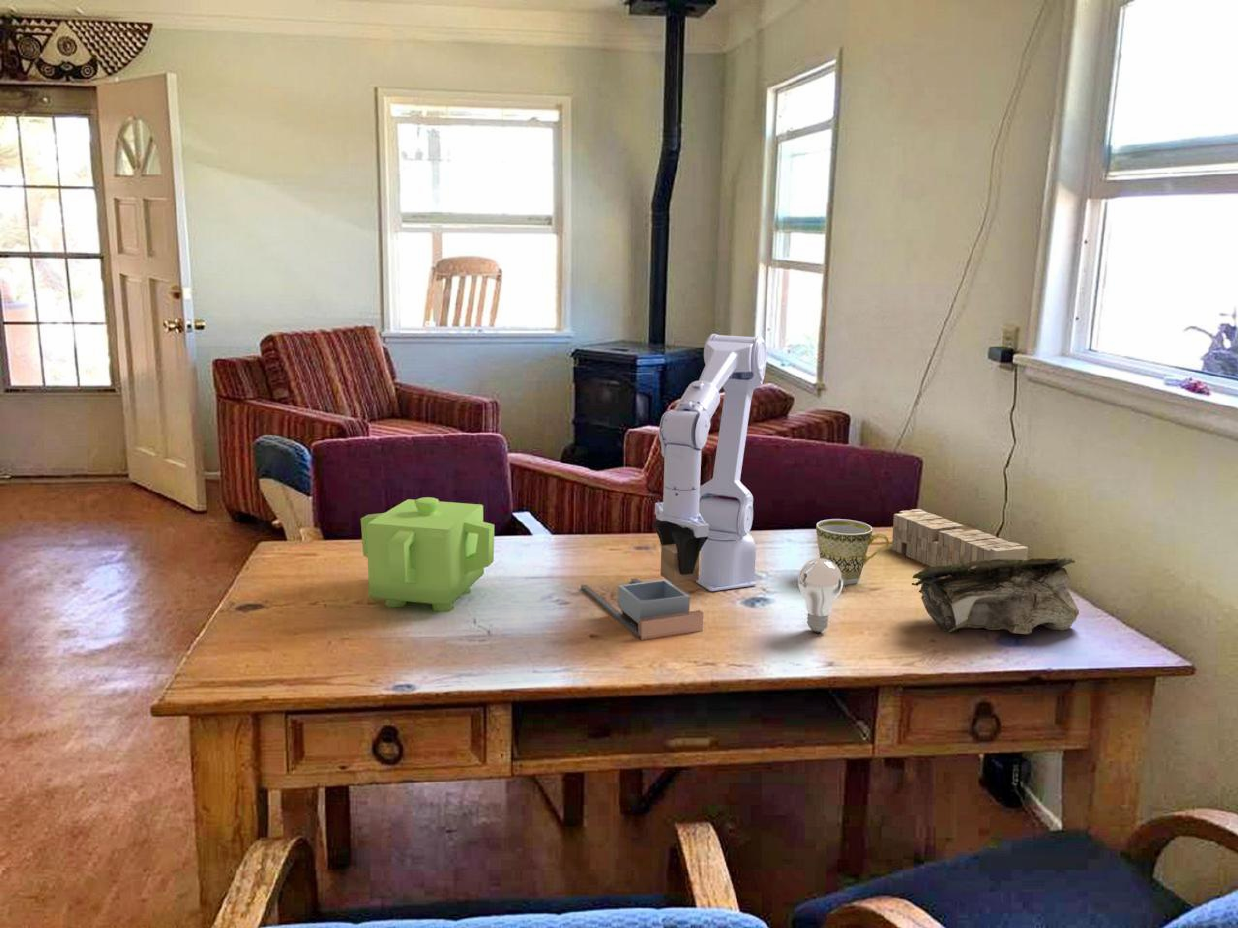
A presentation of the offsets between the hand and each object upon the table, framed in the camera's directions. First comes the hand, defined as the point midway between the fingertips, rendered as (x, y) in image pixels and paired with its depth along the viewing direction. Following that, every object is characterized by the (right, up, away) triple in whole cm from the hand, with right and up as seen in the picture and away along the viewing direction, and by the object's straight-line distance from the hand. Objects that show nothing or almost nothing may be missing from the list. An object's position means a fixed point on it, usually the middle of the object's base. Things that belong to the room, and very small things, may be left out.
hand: (678, 568), depth 161 cm
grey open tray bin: (-4, -8, +1) cm, 9 cm away
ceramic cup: (+32, -5, +22) cm, 40 cm away
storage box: (-42, -6, +10) cm, 43 cm away
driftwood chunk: (+50, -10, +2) cm, 51 cm away
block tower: (+54, -3, +32) cm, 63 cm away
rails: (-6, -7, +6) cm, 11 cm away
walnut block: (0, -1, 0) cm, 2 cm away
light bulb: (+22, -10, -2) cm, 24 cm away
